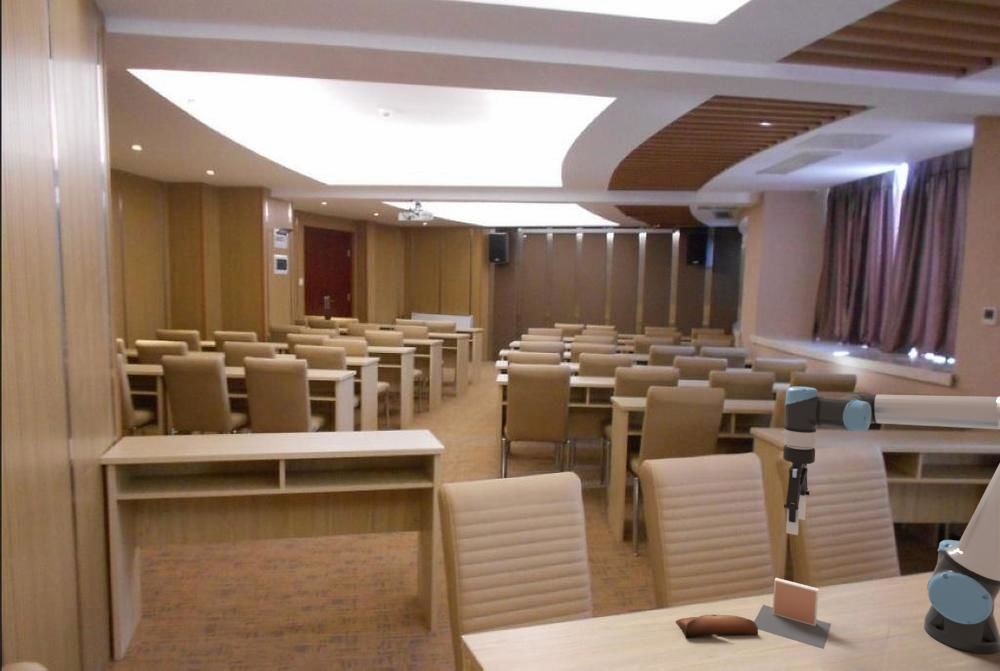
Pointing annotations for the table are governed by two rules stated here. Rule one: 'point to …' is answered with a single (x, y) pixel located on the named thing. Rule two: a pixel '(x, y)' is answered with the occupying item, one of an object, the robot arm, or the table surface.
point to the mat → (792, 628)
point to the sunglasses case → (717, 625)
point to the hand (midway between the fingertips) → (796, 526)
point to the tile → (795, 601)
